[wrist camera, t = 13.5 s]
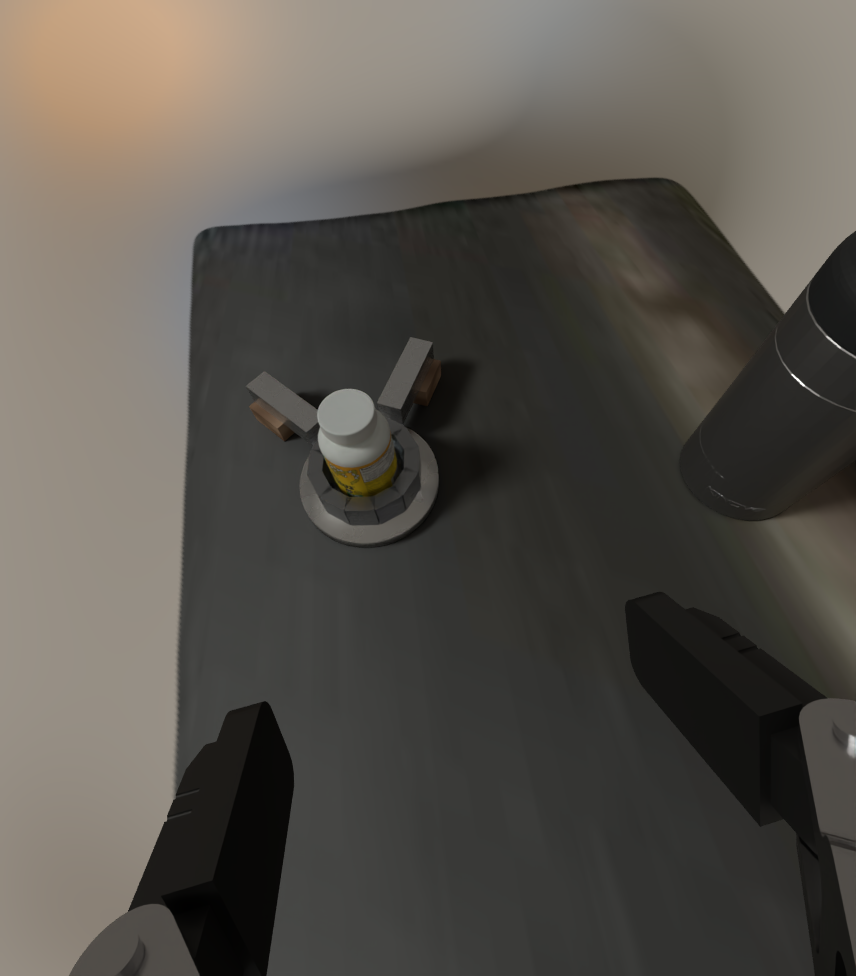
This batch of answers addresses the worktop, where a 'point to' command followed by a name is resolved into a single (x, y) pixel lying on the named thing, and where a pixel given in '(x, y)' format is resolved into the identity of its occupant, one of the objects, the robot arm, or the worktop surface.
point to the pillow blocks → (421, 398)
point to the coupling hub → (381, 513)
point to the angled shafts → (390, 403)
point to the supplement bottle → (356, 444)
